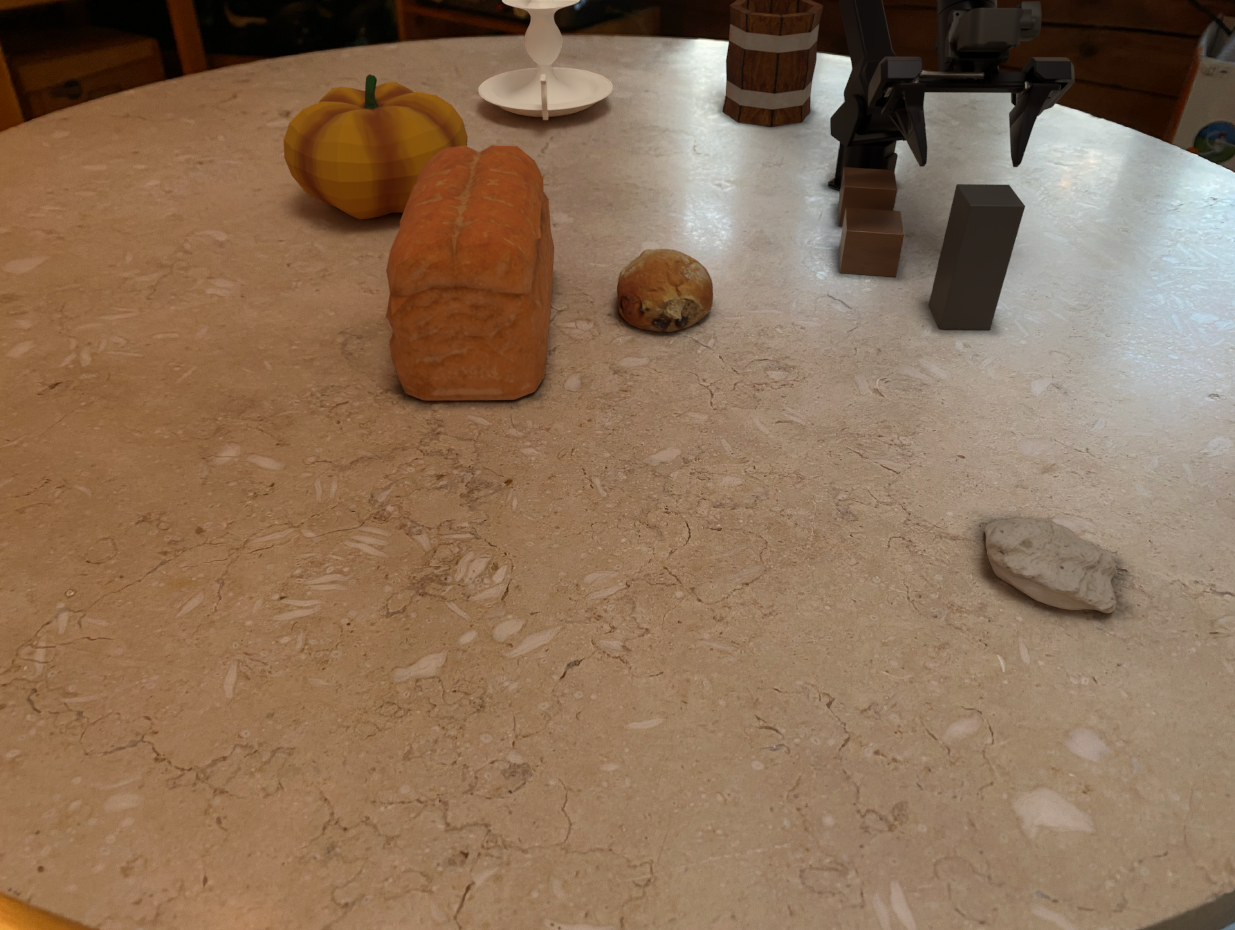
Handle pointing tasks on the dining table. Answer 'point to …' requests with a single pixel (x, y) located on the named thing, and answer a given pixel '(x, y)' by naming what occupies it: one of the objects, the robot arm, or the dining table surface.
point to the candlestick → (544, 71)
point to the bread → (472, 277)
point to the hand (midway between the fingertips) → (970, 165)
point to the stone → (1051, 563)
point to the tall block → (975, 255)
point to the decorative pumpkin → (369, 145)
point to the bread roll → (664, 291)
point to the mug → (771, 61)
